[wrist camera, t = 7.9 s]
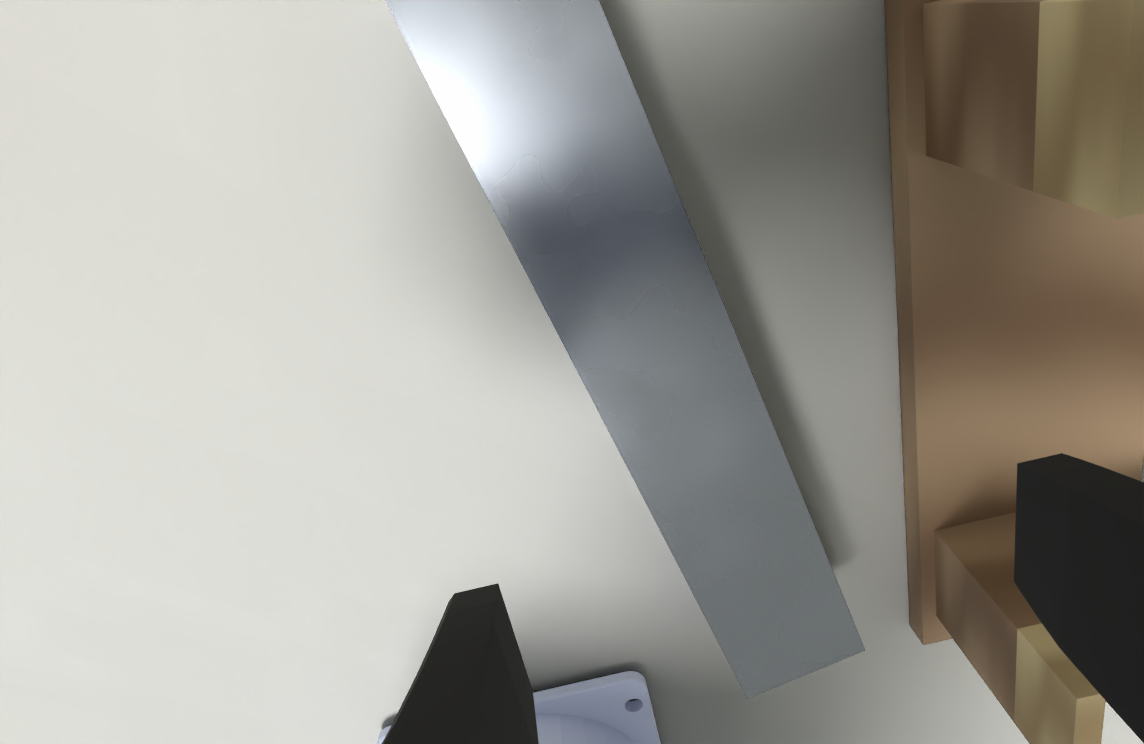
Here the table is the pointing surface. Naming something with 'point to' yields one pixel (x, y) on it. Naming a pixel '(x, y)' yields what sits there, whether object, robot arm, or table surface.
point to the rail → (636, 313)
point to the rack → (1013, 305)
